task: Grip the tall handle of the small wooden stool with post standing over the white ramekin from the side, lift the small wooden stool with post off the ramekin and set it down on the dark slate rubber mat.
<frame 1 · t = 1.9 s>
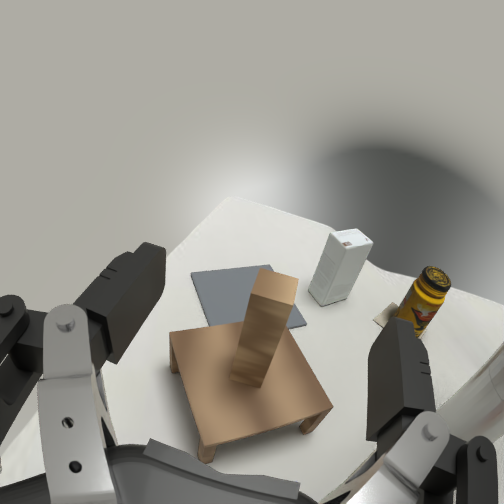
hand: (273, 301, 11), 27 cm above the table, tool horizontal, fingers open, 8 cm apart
condiment: (400, 326, 51), on the table
wooden stool with post: (238, 400, 35), on the table
skincare box: (327, 296, 54), on the table
mat: (246, 299, 50), on the table
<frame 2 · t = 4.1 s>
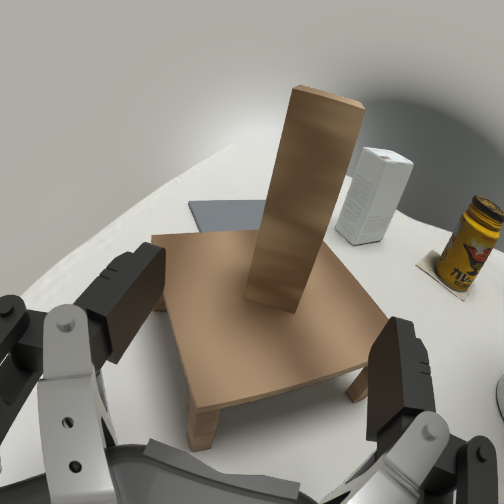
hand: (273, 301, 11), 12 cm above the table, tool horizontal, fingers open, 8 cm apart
condiment: (446, 275, 40), on the table
wooden stool with post: (253, 351, 24), on the table
skincare box: (357, 237, 43), on the table
mat: (259, 231, 38), on the table
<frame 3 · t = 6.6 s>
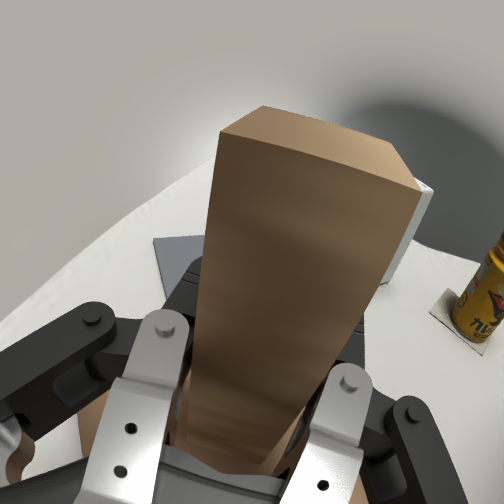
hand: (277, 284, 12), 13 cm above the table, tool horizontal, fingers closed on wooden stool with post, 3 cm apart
condiment: (462, 321, 32), on the table
wooden stool with post: (218, 463, 16), on the table, touching gripper
skincare box: (361, 278, 35), on the table
mat: (237, 279, 31), on the table
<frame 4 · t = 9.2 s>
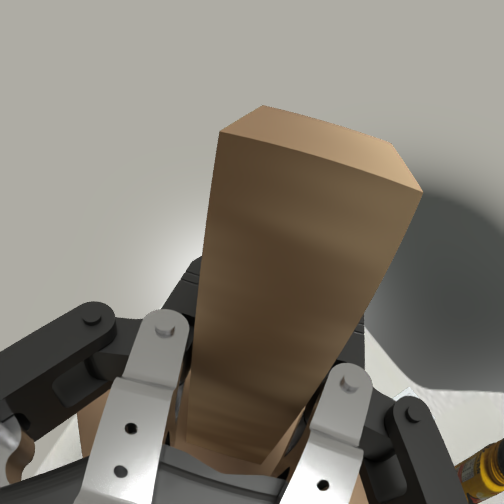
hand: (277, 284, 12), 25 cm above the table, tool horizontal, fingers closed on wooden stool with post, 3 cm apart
condiment: (441, 490, 25), on the table
wooden stool with post: (218, 463, 16), point 12 cm above the table, touching gripper
when the fingers open (13 cm above the table, at t = 11.7 s): wooden stool with post stays where it is, resting on mat.
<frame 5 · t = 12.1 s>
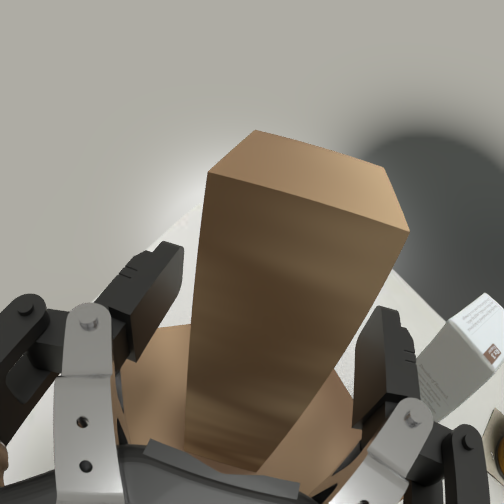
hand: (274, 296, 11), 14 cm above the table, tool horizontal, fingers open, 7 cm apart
wooden stool with post: (216, 468, 17), resting on mat
skincare box: (393, 426, 21), on the table
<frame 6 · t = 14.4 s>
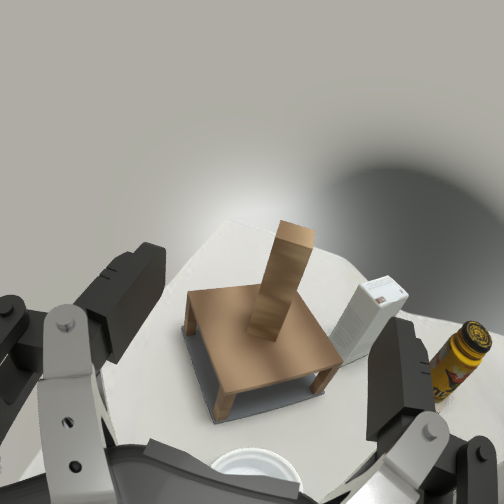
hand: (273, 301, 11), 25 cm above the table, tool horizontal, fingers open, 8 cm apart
condiment: (426, 384, 40), on the table
wooden stool with post: (250, 362, 38), resting on mat
skincare box: (345, 352, 43), on the table
ramekin: (244, 499, 24), on the table
mat: (250, 362, 39), on the table
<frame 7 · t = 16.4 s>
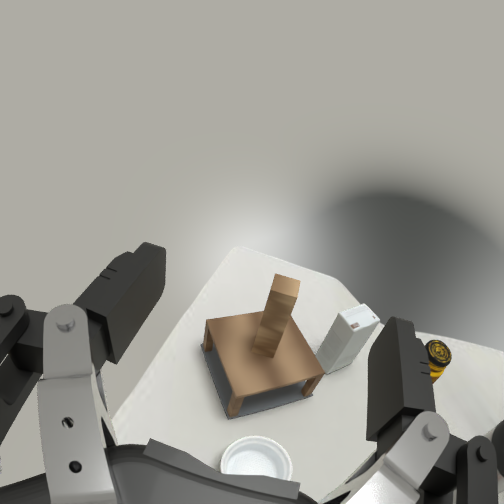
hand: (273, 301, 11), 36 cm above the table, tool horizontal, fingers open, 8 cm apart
condiment: (400, 388, 51), on the table
wooden stool with post: (255, 371, 49), resting on mat
skincare box: (332, 362, 54), on the table
ramekin: (250, 474, 35), on the table
mat: (255, 371, 49), on the table
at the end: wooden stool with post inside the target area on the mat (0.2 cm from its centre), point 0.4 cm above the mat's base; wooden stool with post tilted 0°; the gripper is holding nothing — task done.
